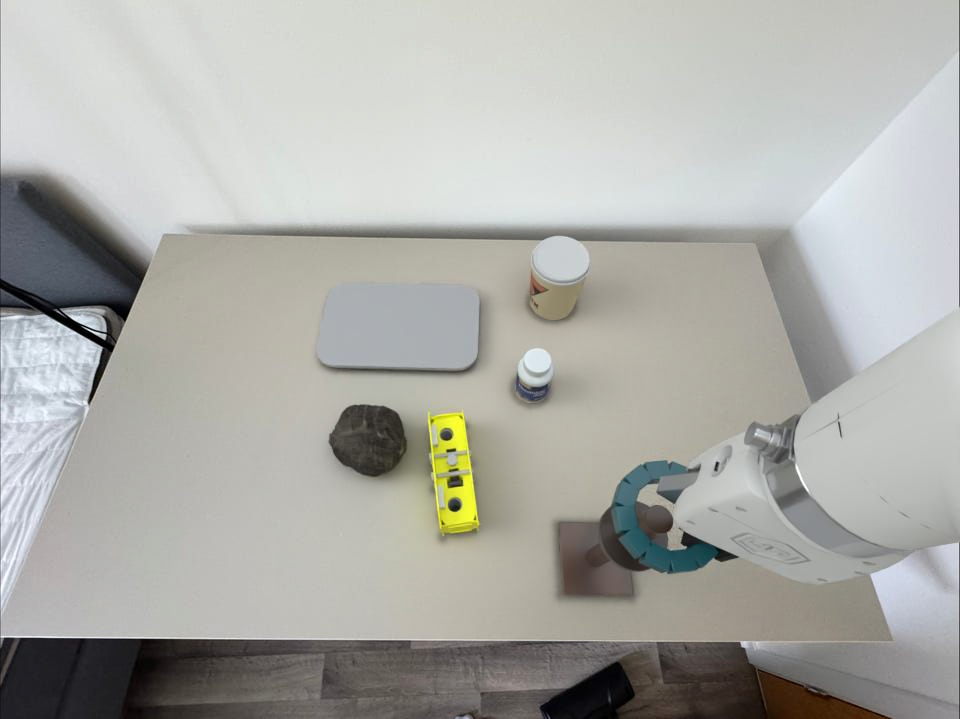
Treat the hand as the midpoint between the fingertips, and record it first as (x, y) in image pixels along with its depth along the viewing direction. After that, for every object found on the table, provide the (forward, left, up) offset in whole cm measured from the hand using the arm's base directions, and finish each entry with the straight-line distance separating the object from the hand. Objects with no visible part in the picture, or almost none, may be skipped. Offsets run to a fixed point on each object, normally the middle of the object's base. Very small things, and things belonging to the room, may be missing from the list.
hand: (704, 534), depth 41 cm
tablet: (+44, -21, -29) cm, 57 cm away
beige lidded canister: (+23, -37, -29) cm, 53 cm away
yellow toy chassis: (+25, -2, -29) cm, 39 cm away
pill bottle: (+20, -20, -29) cm, 41 cm away
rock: (+38, -1, -29) cm, 48 cm away
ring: (+3, 0, 0) cm, 3 cm away
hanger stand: (+3, 0, -29) cm, 29 cm away
